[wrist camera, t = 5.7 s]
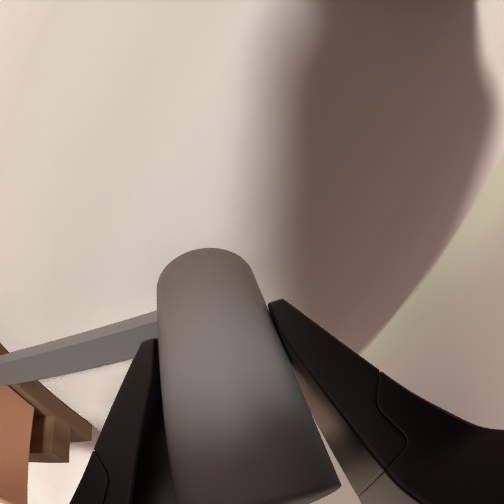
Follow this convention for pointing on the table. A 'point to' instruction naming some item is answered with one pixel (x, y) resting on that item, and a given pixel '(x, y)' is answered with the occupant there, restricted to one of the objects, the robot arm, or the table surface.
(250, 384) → the tethered block
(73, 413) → the wooden tray
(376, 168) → the table surface
